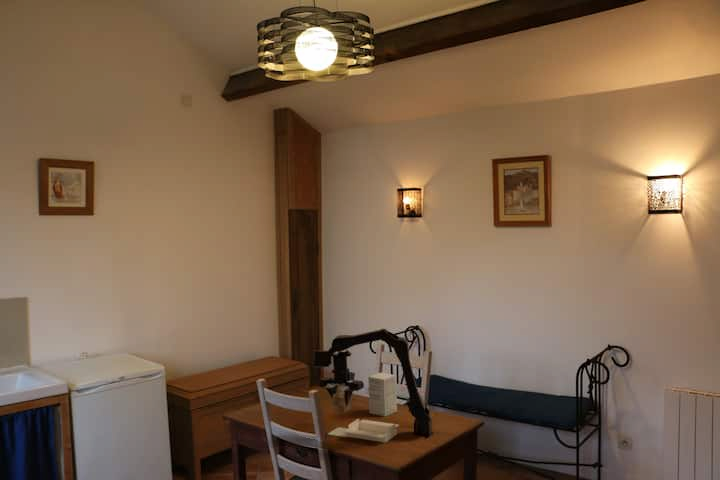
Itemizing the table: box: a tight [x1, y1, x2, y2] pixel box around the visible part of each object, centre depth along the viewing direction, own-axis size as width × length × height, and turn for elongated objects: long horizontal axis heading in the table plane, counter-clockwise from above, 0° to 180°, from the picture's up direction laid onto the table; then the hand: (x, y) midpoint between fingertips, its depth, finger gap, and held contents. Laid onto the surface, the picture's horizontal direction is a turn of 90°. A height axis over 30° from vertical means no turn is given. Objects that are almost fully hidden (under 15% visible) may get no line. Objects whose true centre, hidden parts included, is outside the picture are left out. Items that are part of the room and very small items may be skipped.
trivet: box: [327, 427, 348, 438], centre depth 248 cm, size 9×9×1 cm
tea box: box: [332, 390, 351, 414], centre depth 248 cm, size 5×5×7 cm
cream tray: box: [344, 418, 400, 443], centre depth 243 cm, size 17×16×5 cm
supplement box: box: [367, 372, 398, 417], centre depth 275 cm, size 10×9×17 cm
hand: (341, 404), depth 248 cm, fingers closed on tea box, 5 cm apart
